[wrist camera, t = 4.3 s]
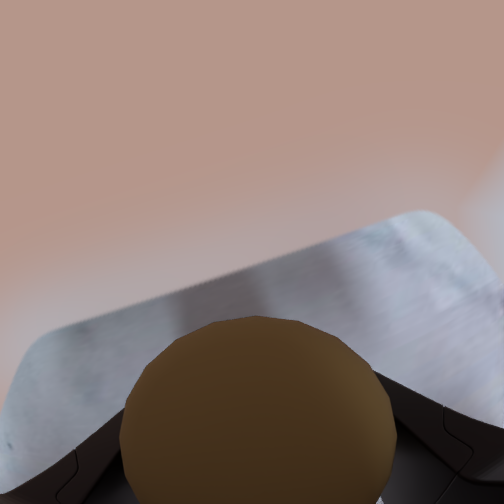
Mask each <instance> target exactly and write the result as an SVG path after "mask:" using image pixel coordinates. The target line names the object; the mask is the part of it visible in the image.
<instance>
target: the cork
mask: <svg viewBox="0 0 504 504" xmlns="http://www.w3.org/2000/svg"><path fill="white" fill-rule="evenodd" d="M119 440H120V448H121V455H122V461H123V467H124V473H125V476H126V479H127V480H128V482H129V484H130V486H131V488H132V490H133V492H134V494H135V496H136V498H137V499H138V501H139V503H140V504H376V502H377V501H378V499H379V497H380V495H381V493H382V492H383V490H384V488H385V486H386V484H387V482H388V480H389V478H390V476H391V473H392V467H393V461H394V455H395V449H396V441H397V432H396V427H395V422H394V417H393V412H392V408H391V403H390V398H389V396H388V395H387V393H386V391H385V390H384V388H383V386H382V385H381V383H380V381H379V380H378V378H377V376H376V375H375V373H374V372H373V370H372V368H371V367H370V365H369V364H368V363H367V362H366V361H365V360H364V359H362V358H361V357H360V356H359V355H358V354H356V353H355V352H354V351H353V350H352V349H351V348H349V347H348V346H347V345H346V344H345V343H343V342H342V341H341V340H340V339H339V338H337V337H335V336H333V335H330V334H328V333H326V332H323V331H321V330H319V329H316V328H314V327H311V326H309V325H307V324H304V323H302V322H300V321H295V320H286V319H278V318H269V317H261V316H251V317H245V318H239V319H233V320H226V321H219V322H213V323H211V324H209V325H207V326H205V327H203V328H201V329H198V330H196V331H194V332H192V333H190V334H188V335H185V336H183V337H181V338H179V339H177V340H175V341H174V342H173V343H172V344H171V345H170V346H168V347H167V348H166V349H165V350H164V351H163V352H162V353H161V354H159V355H158V356H157V357H156V358H155V359H154V360H153V361H152V362H150V363H149V364H148V365H147V366H146V367H145V369H144V371H143V372H142V374H141V376H140V377H139V379H138V381H137V383H136V384H135V386H134V388H133V389H132V391H131V393H130V395H129V396H128V398H127V400H126V404H125V409H124V414H123V419H122V424H121V430H120V435H119Z"/></svg>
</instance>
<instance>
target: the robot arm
mask: <svg viewBox="0 0 504 504" xmlns="http://www.w3.org/2000/svg"><path fill="white" fill-rule="evenodd" d="M373 372H374V373H375V375H376V376H377V378H378V380H379V381H380V383H381V385H382V386H383V388H384V390H385V391H386V393H387V395H388V396H389V398H390V403H391V408H392V412H393V417H394V422H395V427H396V432H397V441H396V449H395V455H394V461H393V467H392V473H391V476H390V478H389V480H388V482H387V484H386V486H385V488H384V490H383V492H382V493H381V495H380V496H381V498H382V501H383V503H384V504H504V429H503V428H500V427H497V426H494V425H490V424H487V423H484V422H481V421H479V420H476V419H473V418H470V417H468V416H465V415H463V414H461V413H459V412H456V411H454V410H452V409H450V408H448V407H446V406H445V407H443V405H441V404H439V403H437V402H435V401H433V400H431V399H429V398H427V397H425V396H423V395H421V394H419V393H417V392H415V391H413V390H411V389H409V388H407V387H405V386H403V385H401V384H399V383H397V382H395V381H393V380H391V379H389V378H387V377H385V376H383V375H382V374H380V373H378V372H376V371H374V370H373ZM124 409H125V408H123V409H122V410H121V411H120V412H119V413H117V414H116V415H115V416H114V417H113V418H111V419H110V420H109V421H108V422H107V423H105V424H104V425H103V426H102V427H101V428H99V429H98V430H97V431H96V432H95V433H93V434H92V435H91V436H90V437H88V438H87V439H86V440H85V441H84V442H82V443H81V444H80V445H79V446H77V447H76V450H75V449H74V450H72V451H71V452H70V453H69V454H67V455H66V456H65V457H63V458H62V459H61V460H59V461H58V462H57V463H55V464H54V465H53V466H51V467H50V468H48V469H46V470H45V471H43V472H42V473H40V474H39V475H37V476H35V477H34V478H32V479H30V480H29V481H27V482H25V483H24V484H22V485H20V486H19V487H17V488H15V489H13V490H11V491H9V492H7V493H4V494H0V504H140V503H139V501H138V499H137V498H136V496H135V494H134V492H133V490H132V488H131V486H130V484H129V482H128V480H127V479H126V476H125V473H124V467H123V461H122V455H121V448H120V440H119V435H120V430H121V424H122V419H123V414H124Z"/></svg>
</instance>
